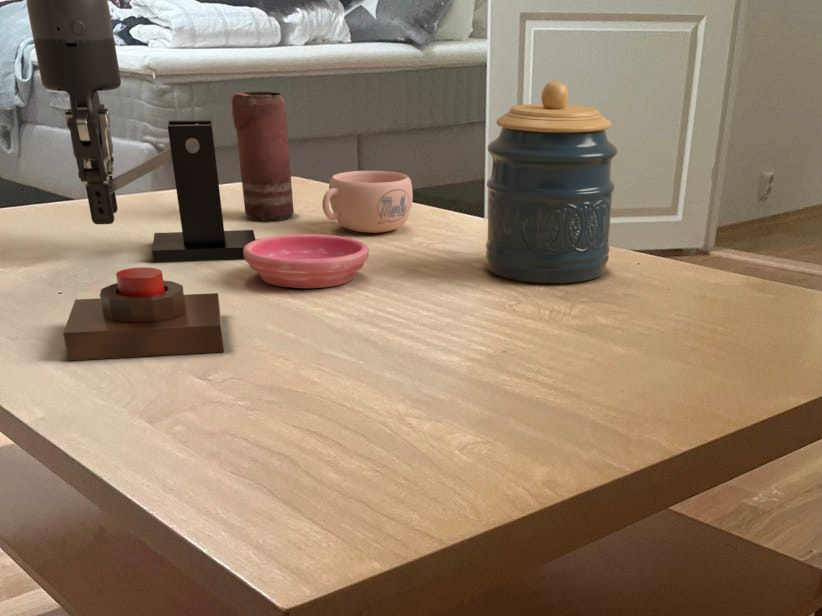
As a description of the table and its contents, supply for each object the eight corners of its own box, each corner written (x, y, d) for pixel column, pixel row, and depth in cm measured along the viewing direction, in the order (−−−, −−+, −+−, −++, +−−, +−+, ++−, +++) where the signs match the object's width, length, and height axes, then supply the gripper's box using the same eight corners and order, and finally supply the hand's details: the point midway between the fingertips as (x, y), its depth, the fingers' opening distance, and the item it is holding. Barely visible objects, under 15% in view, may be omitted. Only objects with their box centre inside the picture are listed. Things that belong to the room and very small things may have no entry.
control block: (68, 360, 79) (57, 309, 77) (80, 325, 87) (70, 277, 85) (224, 352, 82) (217, 302, 79) (221, 318, 90) (215, 271, 88)
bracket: (153, 262, 107) (132, 128, 100) (156, 244, 114) (136, 118, 107) (258, 258, 109) (245, 127, 102) (254, 240, 116) (241, 117, 109)
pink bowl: (323, 257, 110) (321, 227, 108) (394, 280, 102) (393, 247, 100) (223, 275, 102) (219, 243, 101) (290, 301, 95) (287, 266, 93)
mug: (380, 218, 128) (378, 167, 125) (429, 230, 122) (429, 178, 119) (301, 230, 122) (297, 176, 118) (349, 244, 115) (346, 188, 112)
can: (237, 214, 129) (224, 91, 121) (285, 210, 131) (275, 89, 124) (251, 223, 124) (238, 96, 117) (300, 219, 127) (290, 94, 119)
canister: (576, 253, 114) (588, 75, 104) (629, 280, 103) (647, 86, 94) (468, 260, 110) (470, 76, 100) (511, 289, 99) (518, 88, 90)
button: (118, 301, 81) (114, 278, 80) (120, 289, 84) (117, 268, 83) (164, 299, 81) (161, 277, 80) (165, 287, 84) (162, 266, 83)
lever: (100, 210, 105) (86, 188, 103) (104, 201, 109) (90, 180, 107) (210, 150, 104) (197, 127, 103) (209, 143, 108) (197, 121, 107)
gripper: (41, 30, 103) (75, 206, 113) (22, 37, 92) (61, 233, 101) (117, 31, 105) (144, 204, 114) (108, 37, 93) (139, 231, 102)
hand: (105, 217), depth 107 cm, fingers closed on lever, 5 cm apart
